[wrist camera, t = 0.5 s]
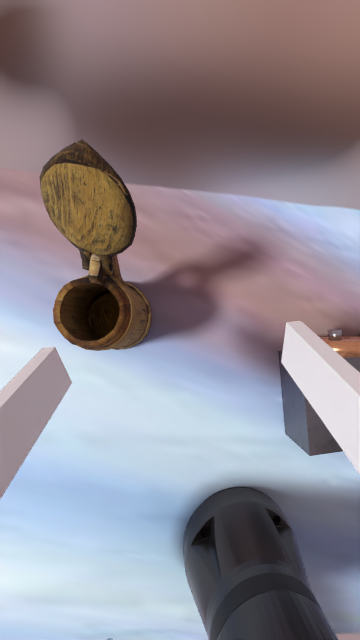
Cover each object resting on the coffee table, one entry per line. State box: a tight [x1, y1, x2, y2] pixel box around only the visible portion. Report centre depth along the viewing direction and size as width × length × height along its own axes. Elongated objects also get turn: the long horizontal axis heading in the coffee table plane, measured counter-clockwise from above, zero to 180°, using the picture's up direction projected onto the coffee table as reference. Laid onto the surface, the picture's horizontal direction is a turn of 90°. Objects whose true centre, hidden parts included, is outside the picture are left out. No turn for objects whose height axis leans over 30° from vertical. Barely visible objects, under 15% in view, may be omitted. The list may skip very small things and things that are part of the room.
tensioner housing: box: [278, 329, 360, 456], centre depth 27 cm, size 15×10×8 cm
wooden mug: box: [40, 140, 152, 351], centre depth 20 cm, size 9×14×18 cm, turn 168°
